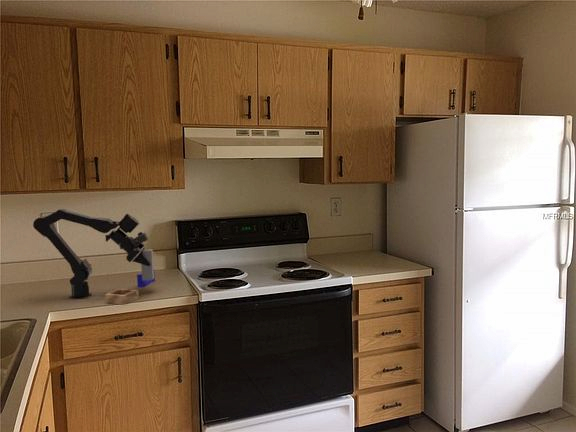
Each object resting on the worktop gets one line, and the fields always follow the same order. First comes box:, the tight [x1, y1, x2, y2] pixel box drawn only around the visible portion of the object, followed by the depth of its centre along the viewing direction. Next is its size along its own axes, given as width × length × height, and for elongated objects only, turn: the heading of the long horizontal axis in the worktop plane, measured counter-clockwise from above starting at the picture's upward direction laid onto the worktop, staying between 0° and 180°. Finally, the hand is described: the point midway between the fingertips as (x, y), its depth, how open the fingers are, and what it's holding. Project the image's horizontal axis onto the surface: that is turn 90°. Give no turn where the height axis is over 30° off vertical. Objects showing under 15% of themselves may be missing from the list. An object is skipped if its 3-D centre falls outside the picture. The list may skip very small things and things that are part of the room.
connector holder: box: [104, 288, 140, 305], centre depth 199 cm, size 10×10×4 cm
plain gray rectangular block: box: [140, 248, 155, 281], centre depth 210 cm, size 4×4×13 cm
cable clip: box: [136, 271, 156, 288], centre depth 227 cm, size 12×4×6 cm, turn 171°
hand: (150, 264), depth 211 cm, fingers closed on plain gray rectangular block, 4 cm apart
